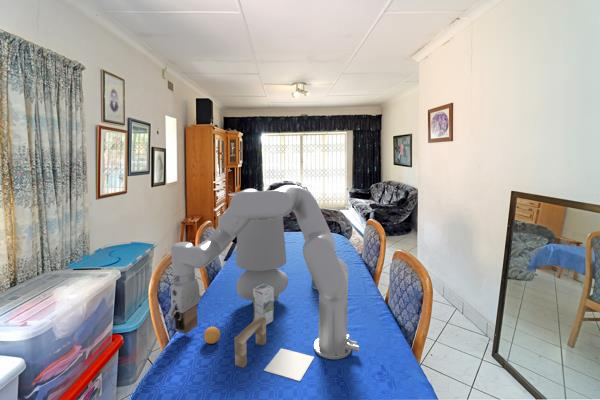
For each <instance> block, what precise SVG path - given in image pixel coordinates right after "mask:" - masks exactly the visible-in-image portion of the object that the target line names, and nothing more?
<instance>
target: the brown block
mask: <svg viewBox="0 0 600 400" xmlns="http://www.w3.org/2000/svg"><path fill="white" fill-rule="evenodd" d="M197 307H198V306H197V305H195V306H194V307H192V308H190V309H189V310H187V311H186V312H184V313H183V316H182V319H183V324H184V329H183V330H179V329H176V326H175V325H174V331H176V332H179V333H182V334H184V335H185V334H188V333H189V332H191V331H192V330H193V329H195V328H196V327H198V309H197ZM174 313H175V312H174ZM179 313H180V312H178V316H179Z"/></svg>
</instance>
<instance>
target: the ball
mask: <svg viewBox="0 0 600 400" xmlns="http://www.w3.org/2000/svg"><path fill="white" fill-rule="evenodd" d="M220 337H221V332H220V329H218V328H217V327H216V326H209V327H207V328H206V330H205V331H204V333H203V339H204V341H205V343H207V344H209V345H210V344H215V343H217V342H218V341H219V340H220Z"/></svg>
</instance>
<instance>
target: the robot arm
mask: <svg viewBox="0 0 600 400" xmlns="http://www.w3.org/2000/svg"><path fill="white" fill-rule="evenodd" d="M291 212H292V213H294V216H295V218H296V220H297V221H296V222H297V224H298V227H299V228H300V231H301V233H302V236H303V239H304V243H303V247H302V256H303V260H304V262H305V265H306V267H307V269H308V272H309V274H310V276H311V280H312V279H313V281H314V283H315V286H316V288H317V289H316V290H317V292H318V338H317V339H315V341H314V344H313V349H314V351H315V352H316V354H317V355H318V356H319V357H321V358H324V359H327V360H328V359H329V360H341V359H344V358H346V357H348V356H349V355H350V353H351V351H354V352H356V353H357V352H359V353H360V345H358V341H356V340H351V339H350V334H348V308H349V307H348V306H349V305H348V303H349V299H348V298H349V268H348V265H347V264H346V262H345V260H343V259H342V258H340V257H338V255H337V253H336V251H335V249H336V242H335V238H334V237H333V234H332V232H331V229H330V227H329V225H328V223H327V220H326V218H325V217H324V213H322V212H323V211H322V210H321V207H320V206H319V203H318V202H317V200H316V199H315V196H314V195H313V194H312V193H311V192H310V191H309V190H308V189H306V188H304V187H301V186H300V185H299V186H298V185H293V184H284V185H281V186H279V187H277V188H275V189H272V190H270V189H269V190H257V189H255V188H245V189H242V190H241V191H238V192H236V193H235V194H234V195H233V196H232V197H231V199H230V202H229V206H228V207H227V209H226V210H224V211H223V213H222V214H221V215H220V216H219V218H218V220H217V222H218V225H217V227H215V229H214V230H213V231H212V233H211V234H210V235H209V236H208V237H207V238H206V239H205V240H204V241H202V242H201V243H199V244H197V245H194V244H193V243H192V242H189V241H179V242H176V243H173V245H171V248H170V249H171V250H170V252H171V253H170V254H171V269H172V279H171V282H172V284H171V293H170V294H171V295H170V304H171V306H170V309H169V311H168V313H167V315H168V317H171V318H172V319H174V327H175V326H176V329H179V330H183V329H184V324H183V319H182V316H183V313H184V312H186V311H187V310H189V309H190V308H192V307H194V306H195V305H197V310H198V305H199V303H200V302H201V299H202V295H201V292H200V286H199V281H198V278H197V277H196V269H203V268H206V267H207V266H208V265H210V264H211V263H212V262H213V261H215V260H216V259H217V258H219V256H220V255H221V254H222V253H223V252H224V251H225V250H226V249H227V248H228V247H229V245H231V243H232V242H233V240H235V238H237V235H238V234H239V233H240V232H241V231H242V230H243V229H244V227H245V226H246V225H247V224H248V223H249V222H250V221H251V220H252V219H265V218H280V217H283V218H284V217H286V216H287V215H289V214H290V213H291ZM174 312H175V313H174ZM178 312H180V313H179V316H178Z"/></svg>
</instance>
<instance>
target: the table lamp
mask: <svg viewBox="0 0 600 400" xmlns="http://www.w3.org/2000/svg"><path fill="white" fill-rule="evenodd" d="M285 238H286V237H285V228H284V217H280V218H265V219H252V220H251V221H250V222H249V223H248V224H247V225H246V226H245V227H244V229H243V230H242V231H241V232H240V233H239V234H238V235H237V237H236V253H235V254H236V256H235V257H236V258H235V264H236V265H235V266H237V267H238V268H239V269H242V270H244V271H243V272H242V273H241V275H240V276H239V278H238V279H237V281H236V293H237V295H238V296H239V297H240V298H242V299H243V300H247V301H251V302H252V303H253V288H255V287H257V286H259V285H262V284H267V285H269V286H271V287H273V288H274V302H278V301H279V297H280V295H281V294H282V293H283V292H285V290H286V289H287V287H288V284H289V277H288V274H286V273H285V272H283V271H282V270H280V269H279V268H281V267H283V266H285V265H286V264H287V262H288V261H287V251H286V241H285Z"/></svg>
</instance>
